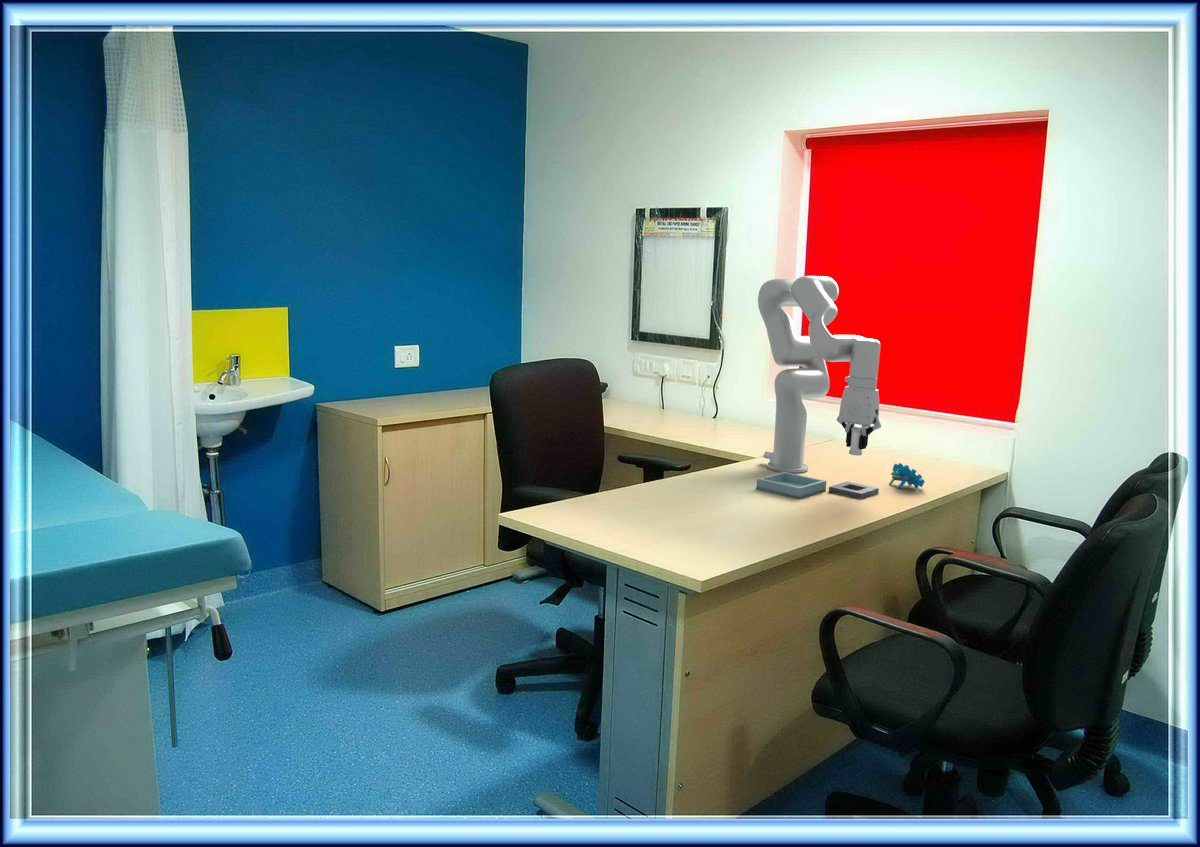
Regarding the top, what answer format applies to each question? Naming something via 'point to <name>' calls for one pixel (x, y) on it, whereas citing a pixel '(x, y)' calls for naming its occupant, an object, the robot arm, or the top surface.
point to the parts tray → (791, 485)
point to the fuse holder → (853, 490)
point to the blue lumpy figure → (906, 476)
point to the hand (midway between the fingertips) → (856, 446)
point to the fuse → (855, 441)
